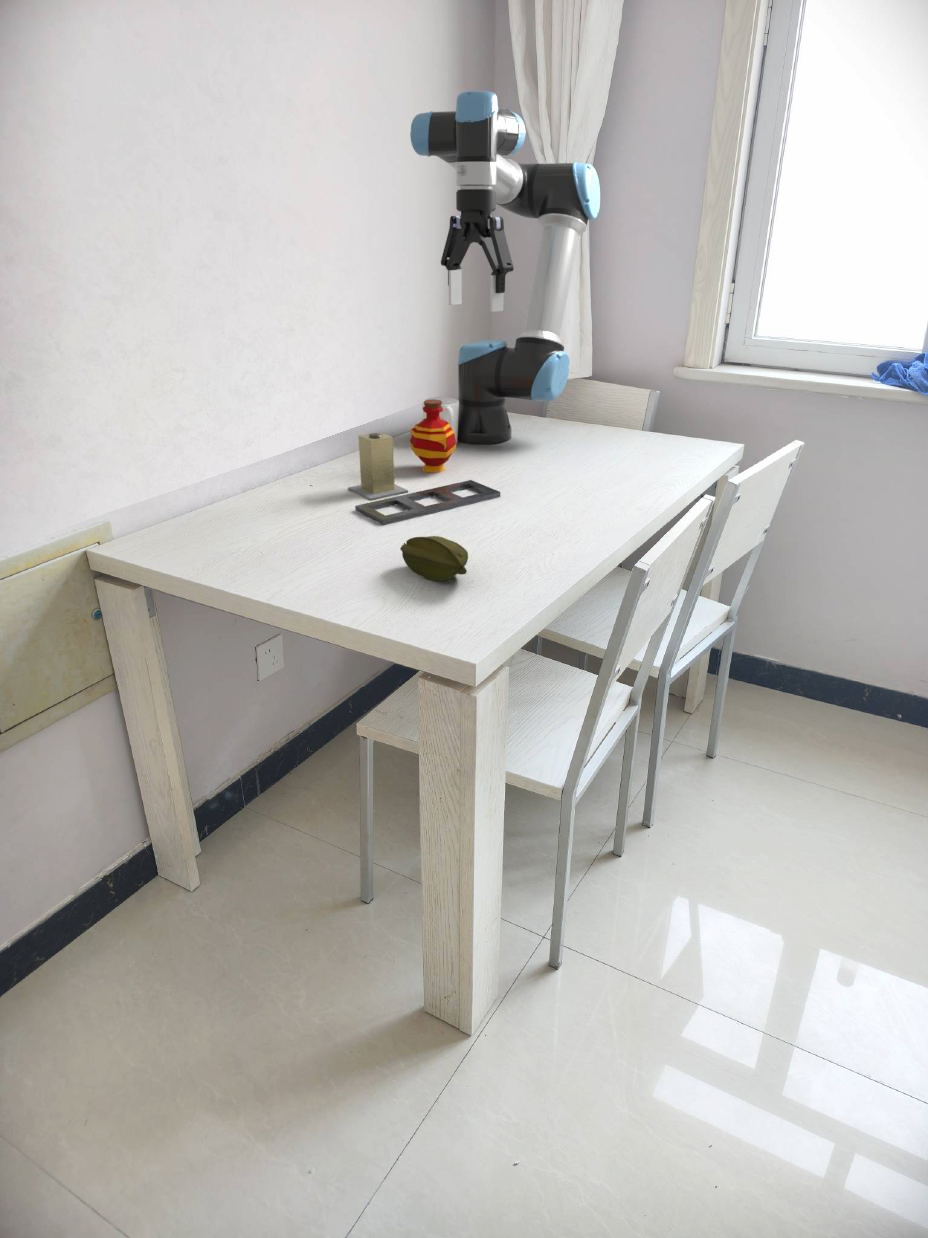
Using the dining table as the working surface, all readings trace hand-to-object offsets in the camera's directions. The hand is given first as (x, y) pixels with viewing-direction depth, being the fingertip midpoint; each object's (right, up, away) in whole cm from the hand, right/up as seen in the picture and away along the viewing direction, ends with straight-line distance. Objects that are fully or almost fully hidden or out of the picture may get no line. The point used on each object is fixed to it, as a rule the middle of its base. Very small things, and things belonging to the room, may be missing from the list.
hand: (475, 307), depth 169 cm
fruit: (-7, -55, -32) cm, 64 cm away
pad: (-20, -35, +7) cm, 41 cm away
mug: (-7, -19, +40) cm, 45 cm away
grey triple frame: (-9, -39, -1) cm, 40 cm away
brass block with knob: (-20, -35, +7) cm, 41 cm away
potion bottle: (-9, -29, +21) cm, 37 cm away
